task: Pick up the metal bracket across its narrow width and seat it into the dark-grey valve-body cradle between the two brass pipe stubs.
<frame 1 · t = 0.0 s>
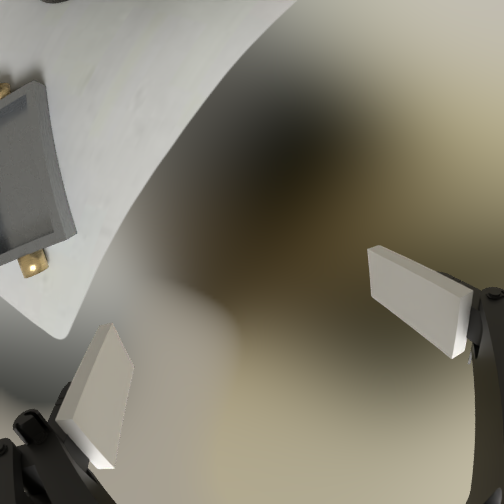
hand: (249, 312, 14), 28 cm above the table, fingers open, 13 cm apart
cradle: (16, 176, 33), on the table
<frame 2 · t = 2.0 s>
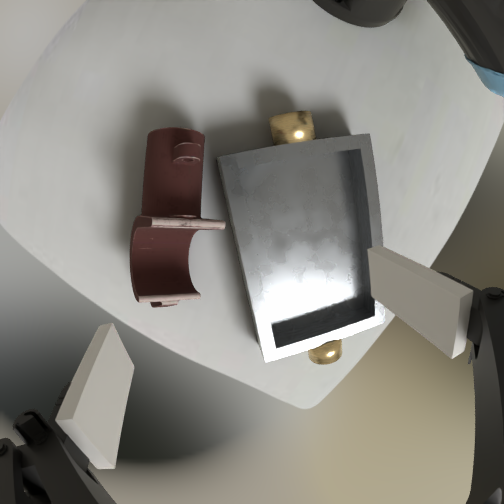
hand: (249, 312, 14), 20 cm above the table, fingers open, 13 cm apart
cradle: (306, 243, 35), on the table
bracket: (175, 218, 32), on the table
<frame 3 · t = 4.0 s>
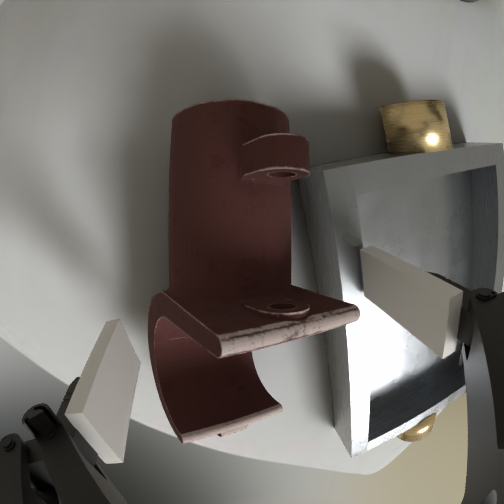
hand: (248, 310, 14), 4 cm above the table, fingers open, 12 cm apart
cradle: (412, 298, 22), on the table
bracket: (223, 273, 18), on the table
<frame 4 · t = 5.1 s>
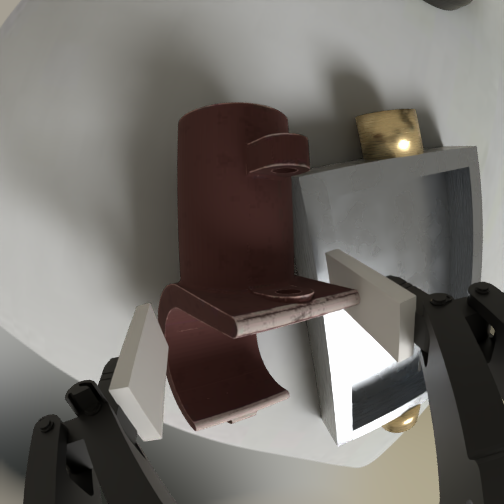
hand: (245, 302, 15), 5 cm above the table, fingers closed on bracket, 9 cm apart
cradle: (391, 294, 24), on the table
bracket: (228, 267, 19), point 1 cm above the table, touching gripper
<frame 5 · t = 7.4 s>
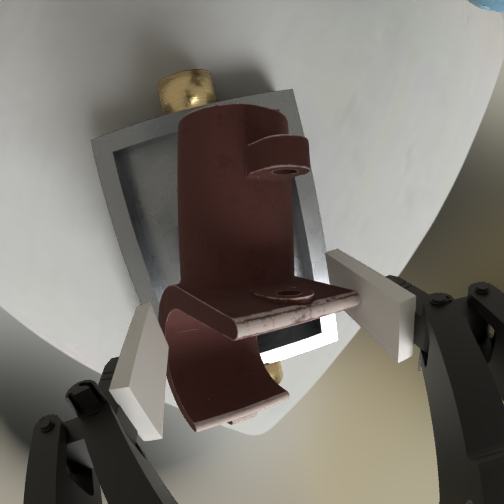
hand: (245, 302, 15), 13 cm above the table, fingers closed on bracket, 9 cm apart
cradle: (222, 241, 27), on the table
bracket: (228, 268, 19), point 8 cm above the table, touching gripper
when the fingers open (5 cm above the table, at t = 9.5 s): bracket stays where it is, resting on cradle.
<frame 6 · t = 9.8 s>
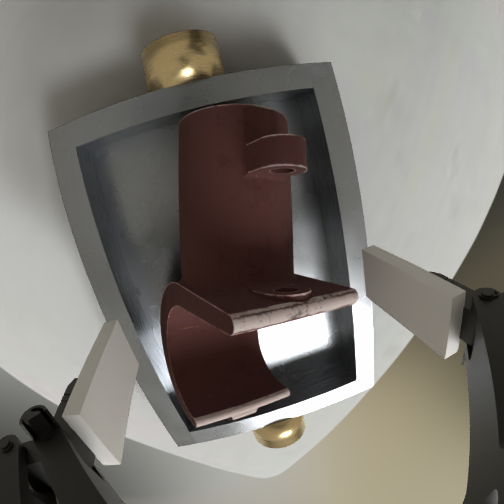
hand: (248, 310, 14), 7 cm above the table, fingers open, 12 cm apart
cradle: (231, 268, 20), on the table
bracket: (230, 266, 20), point 1 cm above the table, touching cradle
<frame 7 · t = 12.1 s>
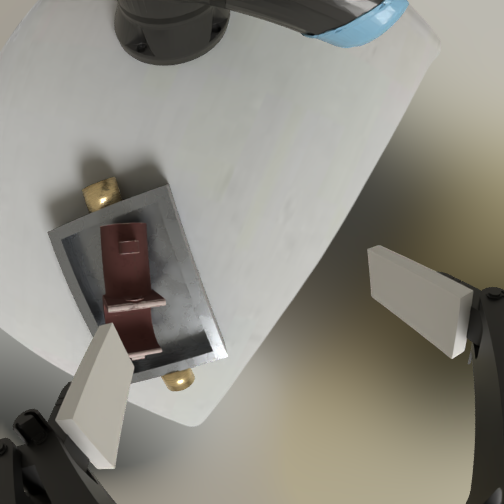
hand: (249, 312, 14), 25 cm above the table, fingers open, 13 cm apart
cradle: (141, 288, 38), on the table
bracket: (137, 286, 37), point 1 cm above the table, touching cradle
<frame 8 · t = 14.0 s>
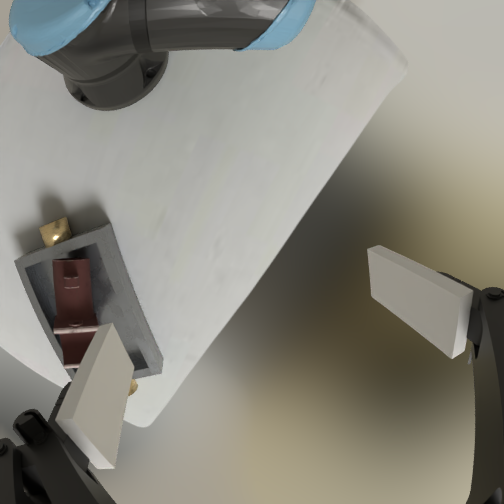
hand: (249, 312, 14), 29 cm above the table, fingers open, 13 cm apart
cradle: (91, 309, 41), on the table
bracket: (86, 307, 40), point 1 cm above the table, touching cradle
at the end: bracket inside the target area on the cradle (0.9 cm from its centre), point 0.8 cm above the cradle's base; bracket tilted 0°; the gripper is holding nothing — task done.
